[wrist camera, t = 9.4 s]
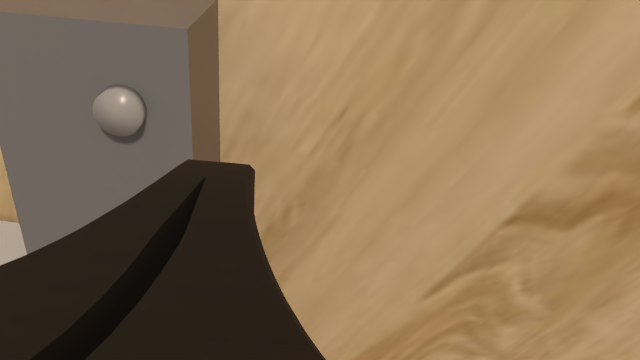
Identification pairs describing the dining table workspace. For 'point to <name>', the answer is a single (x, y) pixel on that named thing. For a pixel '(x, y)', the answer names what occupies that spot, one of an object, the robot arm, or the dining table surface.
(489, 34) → the dining table surface
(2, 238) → the side door
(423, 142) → the dining table surface
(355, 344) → the dining table surface
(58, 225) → the camera case
